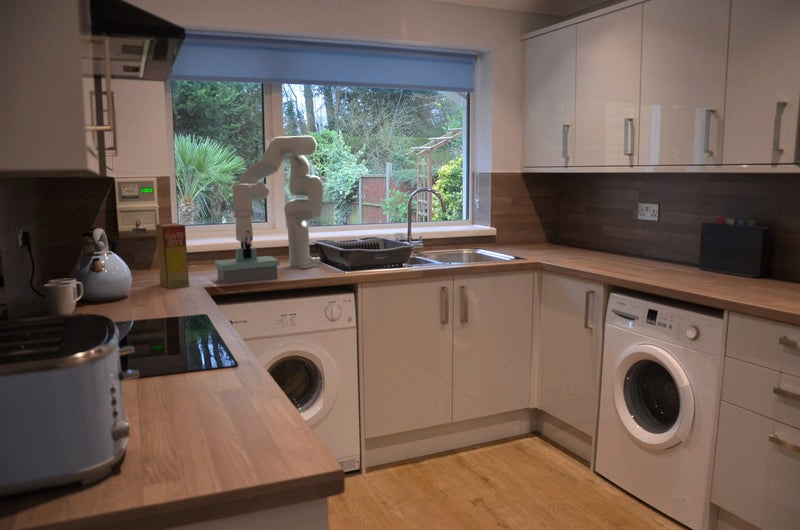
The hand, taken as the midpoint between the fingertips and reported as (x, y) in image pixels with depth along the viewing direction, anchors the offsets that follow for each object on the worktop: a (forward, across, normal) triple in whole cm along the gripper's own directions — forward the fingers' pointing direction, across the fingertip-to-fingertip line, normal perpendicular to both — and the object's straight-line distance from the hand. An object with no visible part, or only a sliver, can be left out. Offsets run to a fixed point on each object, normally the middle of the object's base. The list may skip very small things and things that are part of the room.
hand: (246, 257), depth 267 cm
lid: (+4, 0, 0) cm, 4 cm away
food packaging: (+10, -9, -28) cm, 31 cm away
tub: (+10, 0, 0) cm, 10 cm away
